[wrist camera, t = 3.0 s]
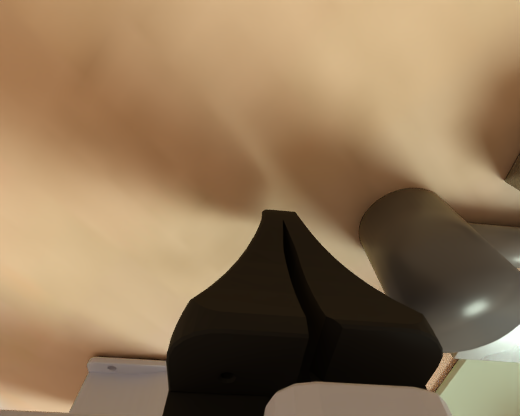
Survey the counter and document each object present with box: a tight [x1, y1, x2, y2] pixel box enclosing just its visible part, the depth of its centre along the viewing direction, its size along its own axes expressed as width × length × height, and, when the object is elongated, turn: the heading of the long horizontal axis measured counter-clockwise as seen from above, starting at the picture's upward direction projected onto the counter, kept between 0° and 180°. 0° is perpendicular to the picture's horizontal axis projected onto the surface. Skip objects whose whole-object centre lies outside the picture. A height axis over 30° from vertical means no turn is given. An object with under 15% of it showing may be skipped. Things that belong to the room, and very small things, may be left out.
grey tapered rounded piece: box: [359, 188, 520, 353], centre depth 12 cm, size 10×4×5 cm, turn 84°
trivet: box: [435, 359, 520, 416], centre depth 21 cm, size 8×7×1 cm
